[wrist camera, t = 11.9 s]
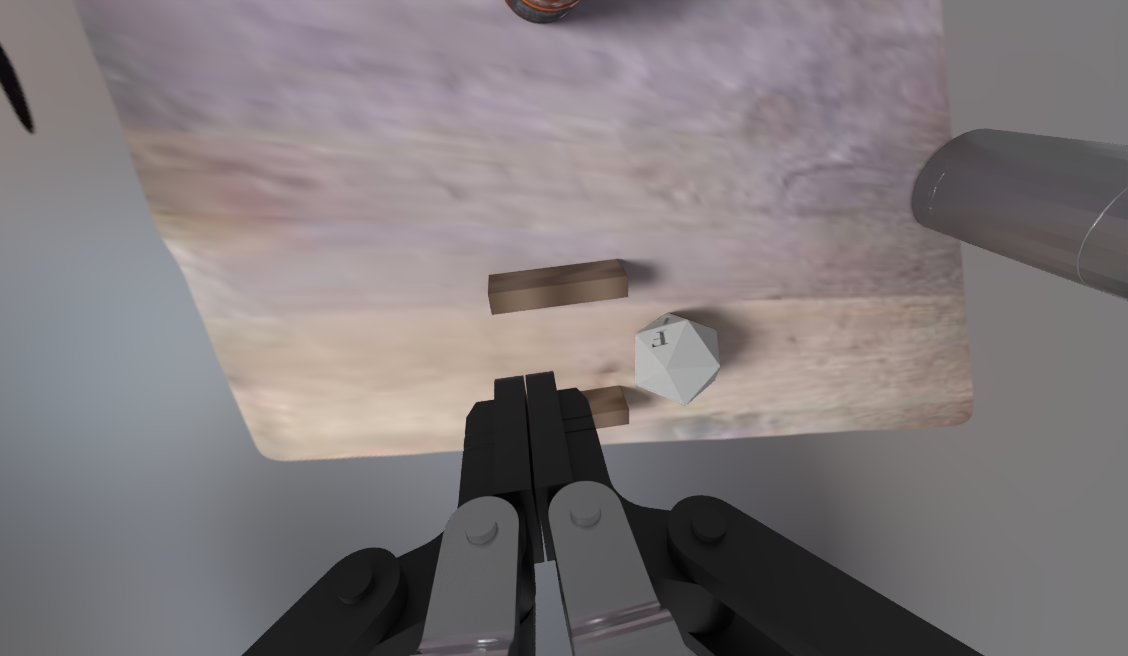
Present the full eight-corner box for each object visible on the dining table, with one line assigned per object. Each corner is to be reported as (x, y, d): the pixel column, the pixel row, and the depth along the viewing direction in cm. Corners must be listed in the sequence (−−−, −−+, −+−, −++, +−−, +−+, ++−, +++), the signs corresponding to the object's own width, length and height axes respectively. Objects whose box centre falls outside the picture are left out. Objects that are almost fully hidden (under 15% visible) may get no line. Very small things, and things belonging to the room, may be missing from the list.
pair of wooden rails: (617, 259, 41) (627, 276, 38) (620, 399, 50) (628, 423, 46) (488, 275, 40) (487, 294, 37) (514, 415, 49) (515, 441, 46)
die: (710, 298, 46) (697, 309, 37) (735, 377, 46) (727, 407, 37) (636, 319, 49) (609, 334, 41) (659, 393, 49) (636, 423, 41)
